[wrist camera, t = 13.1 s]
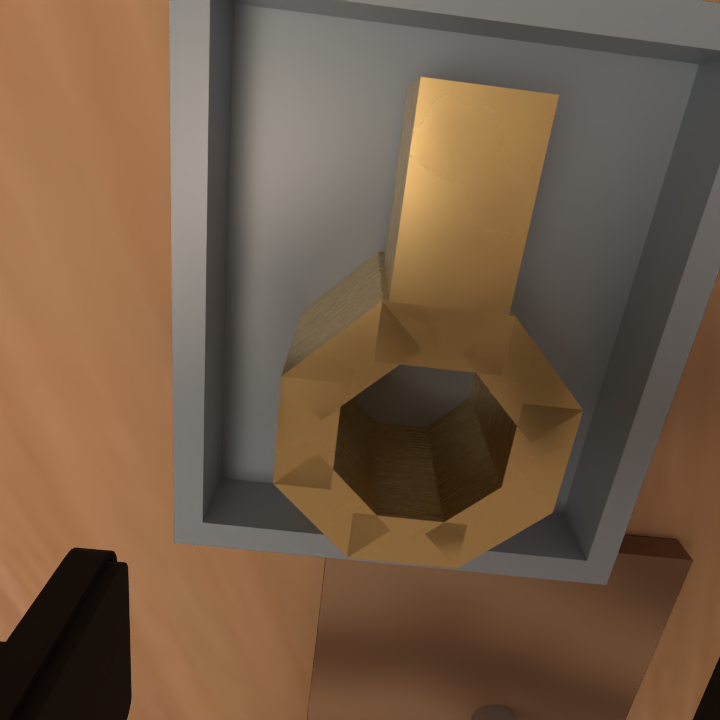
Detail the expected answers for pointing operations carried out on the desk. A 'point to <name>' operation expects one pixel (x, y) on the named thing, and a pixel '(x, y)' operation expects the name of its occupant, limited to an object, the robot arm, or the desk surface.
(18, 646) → the robot arm
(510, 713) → the board
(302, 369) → the ring
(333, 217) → the tray
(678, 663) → the desk surface
